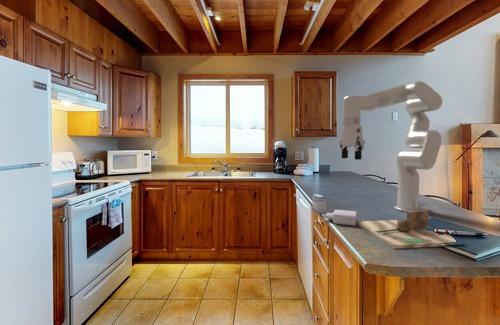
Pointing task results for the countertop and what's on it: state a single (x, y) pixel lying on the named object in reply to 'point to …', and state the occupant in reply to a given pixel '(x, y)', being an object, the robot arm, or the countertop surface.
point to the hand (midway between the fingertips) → (351, 158)
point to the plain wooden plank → (412, 221)
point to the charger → (342, 217)
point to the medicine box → (318, 204)
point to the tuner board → (404, 235)
